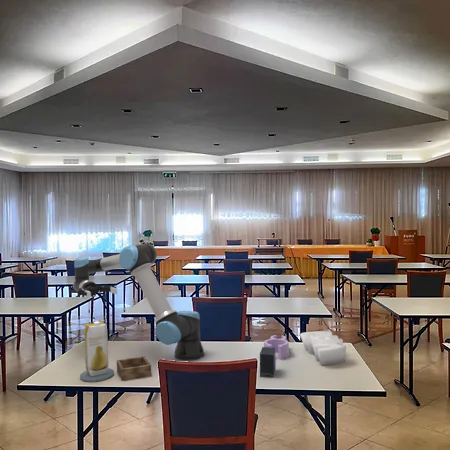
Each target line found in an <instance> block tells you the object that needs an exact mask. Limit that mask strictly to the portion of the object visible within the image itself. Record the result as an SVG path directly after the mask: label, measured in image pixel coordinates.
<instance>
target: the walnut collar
mask: <svg viewBox="0 0 450 450" xmlns="http://www.w3.org/2000/svg"><path fill="white" fill-rule="evenodd" d="M116 372H117V374H118V376H119V379H120V381H121V382H124V381H128V380H135V379H140V378H141V379H142V378H148V377H152V364H151V363H150V362H149V360H148V359H147V357H146V356H145V355H144V356H136V357H129V358H123V359H121V358H120V359H116Z"/></svg>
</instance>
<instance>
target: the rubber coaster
mask: <svg viewBox="0 0 450 450" xmlns="http://www.w3.org/2000/svg"><path fill="white" fill-rule="evenodd" d="M114 375H115V370H114V369H113V368H109V367H108V371H107V373H106V374H101V375H97V376H92V377H91V376H90V375H89V374H88V373H87V371H86V370H85V371H83V372H81V373H80V375H79V379H80V380H81V381H83V382H86V383H98V382H103V381H107V380H110V379H111V378H113V377H114Z"/></svg>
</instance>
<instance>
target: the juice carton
mask: <svg viewBox="0 0 450 450" xmlns="http://www.w3.org/2000/svg"><path fill="white" fill-rule="evenodd" d="M83 331H84V332H83V333H84V361H85V362H84V364H85V371H87V373H88V374H89V375H90V376H91V377H92V376H97V375H101V374H106V373H107V371H108V368H109V345H108V341H109V340H108V328H107V325H106V323H104V322H103V321H94V322H93V323H85V325H84V330H83Z"/></svg>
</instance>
